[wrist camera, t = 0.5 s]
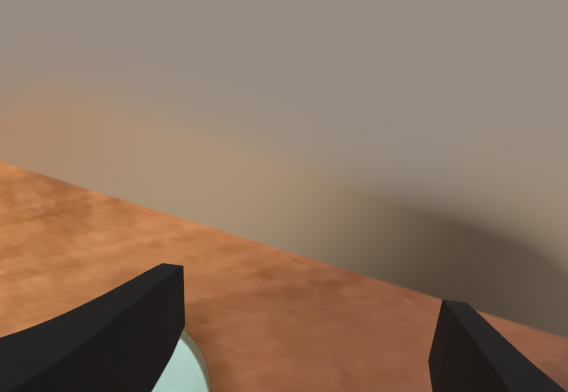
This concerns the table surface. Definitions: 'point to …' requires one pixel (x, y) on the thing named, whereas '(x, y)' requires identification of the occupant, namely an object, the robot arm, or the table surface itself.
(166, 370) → the lid
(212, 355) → the table surface
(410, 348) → the table surface
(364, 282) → the table surface
